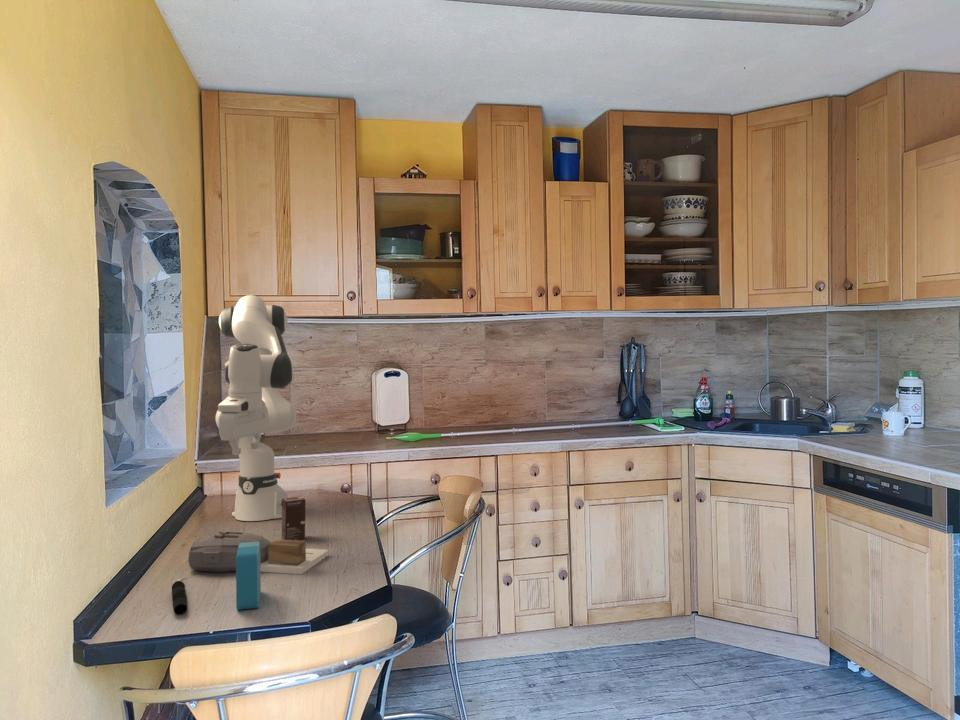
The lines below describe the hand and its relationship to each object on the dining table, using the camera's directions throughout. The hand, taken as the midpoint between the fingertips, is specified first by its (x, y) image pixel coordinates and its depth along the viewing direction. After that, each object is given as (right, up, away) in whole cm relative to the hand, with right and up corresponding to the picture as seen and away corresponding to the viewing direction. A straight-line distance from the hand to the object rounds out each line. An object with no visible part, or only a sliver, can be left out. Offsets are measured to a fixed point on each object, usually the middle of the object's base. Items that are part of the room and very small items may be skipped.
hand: (245, 451), depth 189 cm
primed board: (+17, -28, -12) cm, 34 cm away
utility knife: (-2, -29, -37) cm, 47 cm away
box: (+10, -28, +11) cm, 32 cm away
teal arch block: (+14, -28, -39) cm, 50 cm away
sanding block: (+16, -26, -15) cm, 34 cm away
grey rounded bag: (+1, -28, -13) cm, 31 cm away
